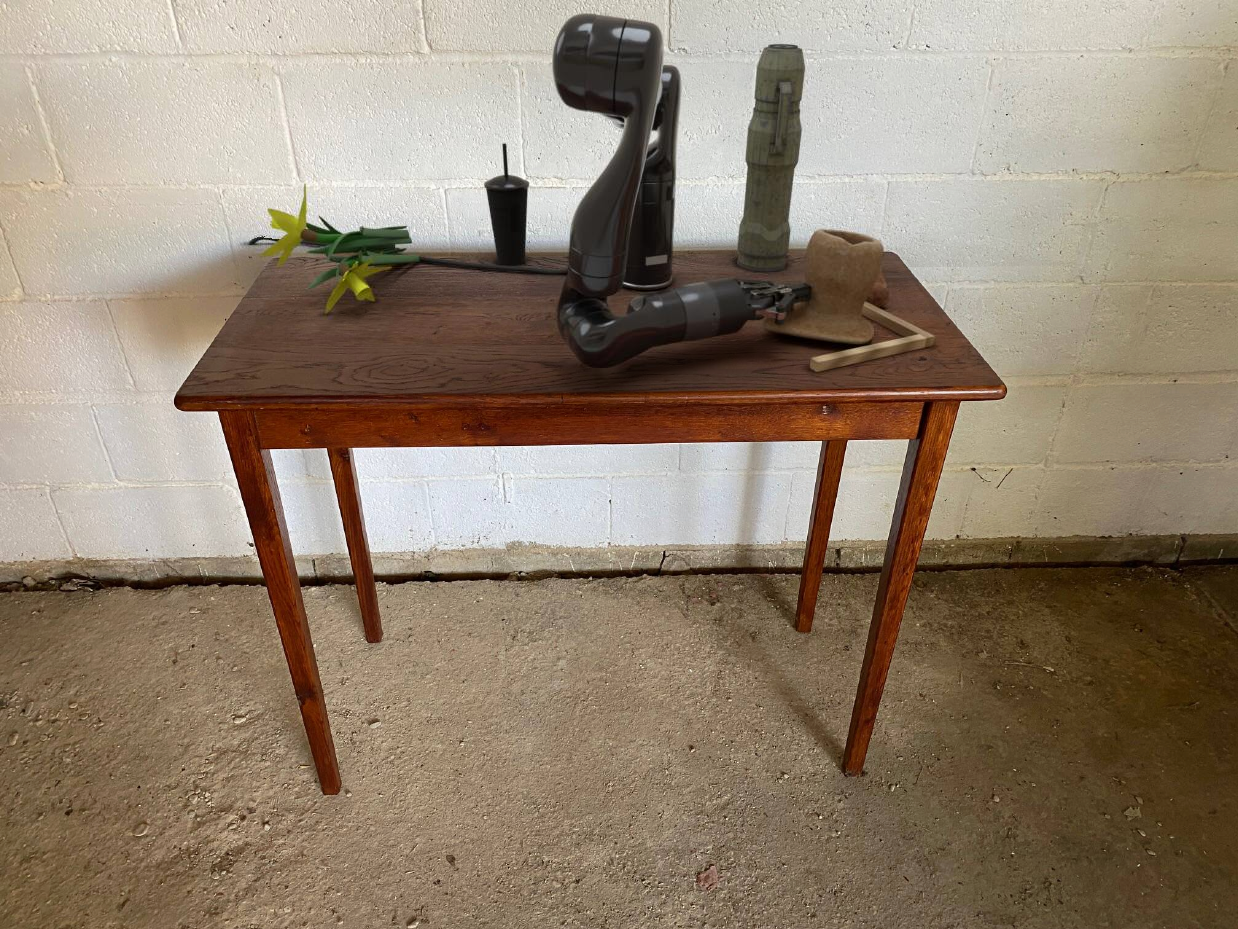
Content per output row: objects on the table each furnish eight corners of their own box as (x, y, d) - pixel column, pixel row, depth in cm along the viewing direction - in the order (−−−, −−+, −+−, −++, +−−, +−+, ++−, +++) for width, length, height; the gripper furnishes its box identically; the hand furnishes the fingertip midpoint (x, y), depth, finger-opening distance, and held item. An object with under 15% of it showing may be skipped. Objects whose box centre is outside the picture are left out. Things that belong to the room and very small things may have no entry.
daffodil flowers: (461, 270, 148) (363, 283, 115) (397, 308, 152) (284, 332, 119) (414, 182, 145) (298, 170, 112) (349, 224, 150) (221, 224, 117)
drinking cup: (539, 257, 151) (534, 141, 141) (522, 270, 145) (515, 149, 135) (501, 252, 153) (493, 137, 143) (482, 265, 147) (472, 146, 137)
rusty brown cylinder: (870, 270, 147) (876, 239, 144) (891, 311, 131) (898, 276, 128) (834, 269, 147) (839, 237, 144) (850, 309, 131) (856, 275, 128)
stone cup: (877, 326, 125) (895, 226, 117) (867, 357, 116) (887, 250, 108) (777, 311, 130) (788, 214, 122) (760, 340, 121) (771, 237, 113)
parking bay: (816, 372, 112) (817, 362, 111) (728, 315, 129) (729, 306, 128) (932, 345, 119) (934, 336, 119) (835, 295, 136) (836, 286, 135)
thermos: (775, 251, 155) (798, 41, 136) (795, 273, 145) (823, 49, 126) (728, 253, 154) (745, 41, 135) (746, 275, 144) (766, 49, 125)
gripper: (731, 300, 105) (842, 280, 112) (680, 268, 115) (784, 251, 122) (727, 355, 109) (834, 332, 116) (678, 319, 119) (778, 300, 126)
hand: (808, 291), depth 119 cm, fingers closed
